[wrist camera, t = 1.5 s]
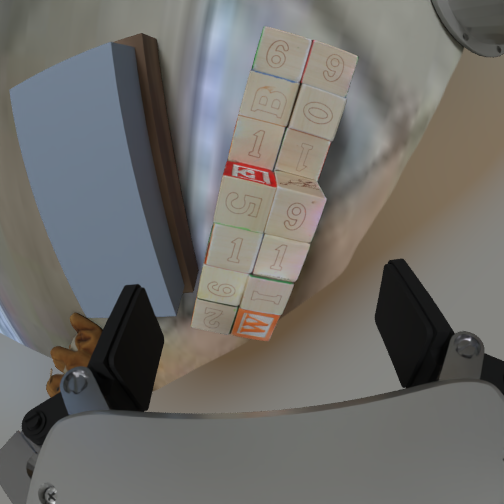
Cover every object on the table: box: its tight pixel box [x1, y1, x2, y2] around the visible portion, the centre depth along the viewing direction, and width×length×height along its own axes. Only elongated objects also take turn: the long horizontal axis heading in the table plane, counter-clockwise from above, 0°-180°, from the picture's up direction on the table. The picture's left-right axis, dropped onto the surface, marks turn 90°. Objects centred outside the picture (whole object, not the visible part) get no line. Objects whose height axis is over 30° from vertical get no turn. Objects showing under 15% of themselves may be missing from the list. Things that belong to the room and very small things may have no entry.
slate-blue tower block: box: [10, 42, 184, 318], centre depth 22 cm, size 10×23×4 cm, turn 6°
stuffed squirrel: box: [46, 313, 102, 397], centre depth 36 cm, size 10×14×13 cm
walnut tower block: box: [114, 33, 199, 293], centre depth 26 cm, size 12×25×4 cm, turn 6°
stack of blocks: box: [191, 26, 358, 341], centre depth 22 cm, size 21×6×12 cm, turn 166°
